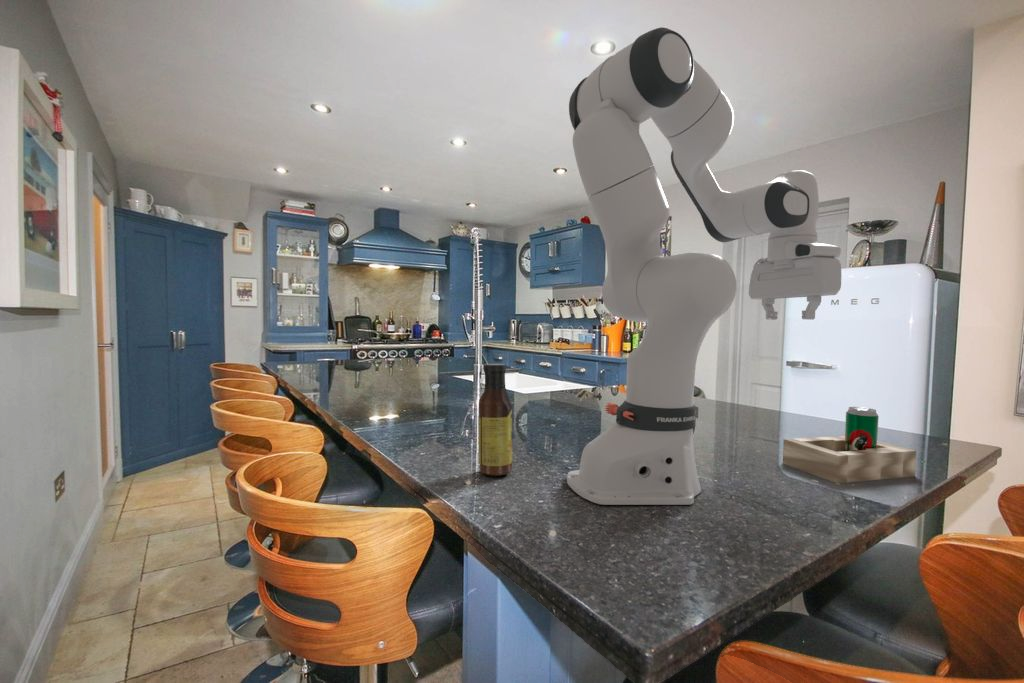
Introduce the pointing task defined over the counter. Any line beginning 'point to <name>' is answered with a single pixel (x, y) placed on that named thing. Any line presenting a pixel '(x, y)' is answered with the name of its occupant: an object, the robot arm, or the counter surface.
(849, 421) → the soda can
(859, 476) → the keyhole board
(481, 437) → the sauce bottle
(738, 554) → the counter surface
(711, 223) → the robot arm
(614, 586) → the counter surface
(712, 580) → the counter surface
